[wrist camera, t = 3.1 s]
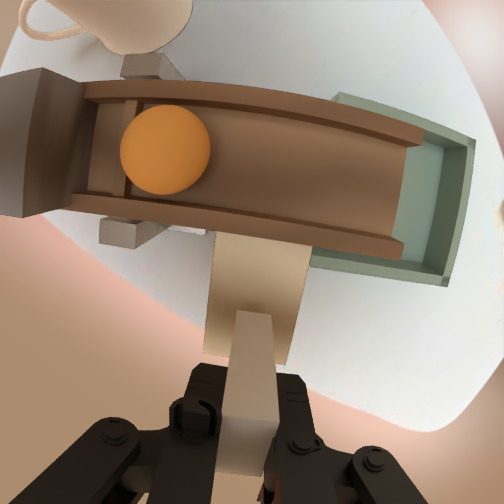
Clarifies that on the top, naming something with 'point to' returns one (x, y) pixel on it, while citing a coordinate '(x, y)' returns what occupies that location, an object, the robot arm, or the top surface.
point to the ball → (165, 149)
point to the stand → (133, 230)
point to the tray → (418, 205)
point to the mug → (118, 22)
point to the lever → (216, 179)
